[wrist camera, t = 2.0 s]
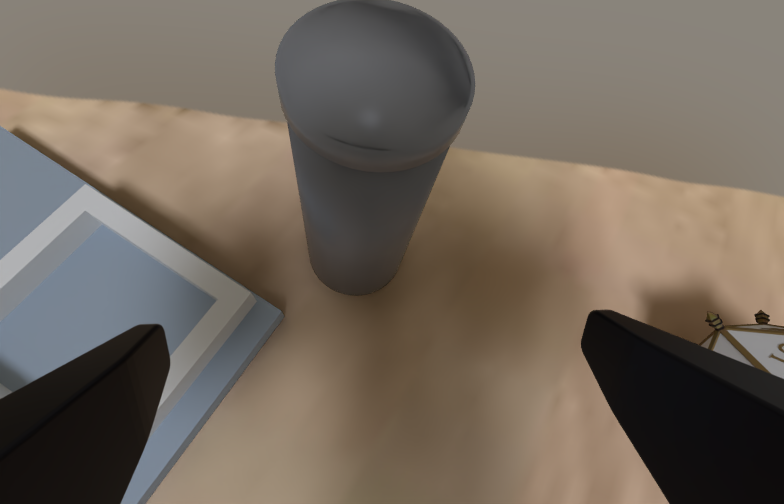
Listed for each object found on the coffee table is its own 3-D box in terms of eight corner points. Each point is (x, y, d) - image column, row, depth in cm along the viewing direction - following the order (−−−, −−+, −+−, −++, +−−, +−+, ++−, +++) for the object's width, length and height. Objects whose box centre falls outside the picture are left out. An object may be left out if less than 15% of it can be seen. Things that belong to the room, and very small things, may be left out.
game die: (645, 373, 26) (770, 244, 21) (798, 494, 22) (1002, 367, 17) (588, 434, 20) (743, 275, 15) (783, 620, 16) (1097, 481, 11)
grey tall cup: (405, 295, 22) (487, 156, 10) (306, 298, 22) (270, 152, 10) (399, 207, 24) (462, 1, 12) (308, 206, 23) (279, -12, 11)
